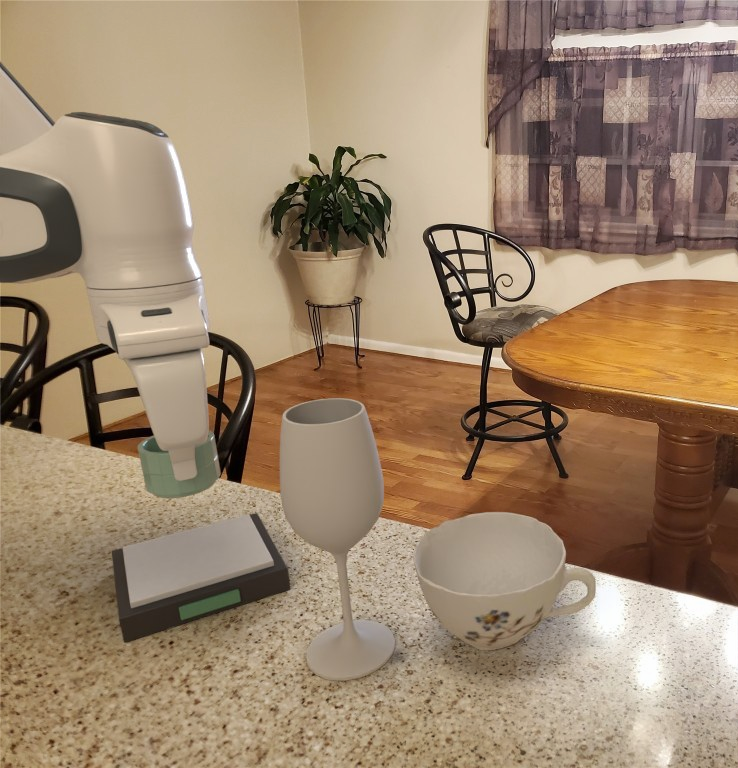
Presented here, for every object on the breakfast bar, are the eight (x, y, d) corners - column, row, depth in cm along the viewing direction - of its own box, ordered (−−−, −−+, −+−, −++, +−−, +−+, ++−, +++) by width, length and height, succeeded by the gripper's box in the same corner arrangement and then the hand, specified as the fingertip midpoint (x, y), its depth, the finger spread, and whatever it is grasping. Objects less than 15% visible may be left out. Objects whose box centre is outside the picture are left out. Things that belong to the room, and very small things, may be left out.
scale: (124, 645, 58) (117, 614, 57) (116, 571, 69) (110, 545, 68) (291, 591, 65) (287, 563, 64) (260, 532, 76) (256, 507, 75)
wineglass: (283, 668, 55) (246, 422, 48) (340, 613, 61) (314, 390, 55) (363, 692, 52) (335, 435, 46) (414, 632, 59) (395, 400, 52)
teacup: (396, 669, 54) (388, 582, 52) (445, 580, 66) (440, 505, 64) (585, 696, 51) (586, 604, 49) (601, 597, 63) (603, 519, 60)
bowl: (150, 507, 60) (140, 460, 58) (144, 481, 65) (135, 437, 64) (226, 488, 63) (219, 443, 62) (214, 465, 68) (207, 423, 67)
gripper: (105, 301, 66) (133, 435, 70) (117, 342, 49) (152, 515, 53) (177, 294, 69) (199, 422, 73) (210, 330, 52) (237, 494, 57)
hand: (180, 462), depth 63 cm, fingers closed on bowl, 6 cm apart
